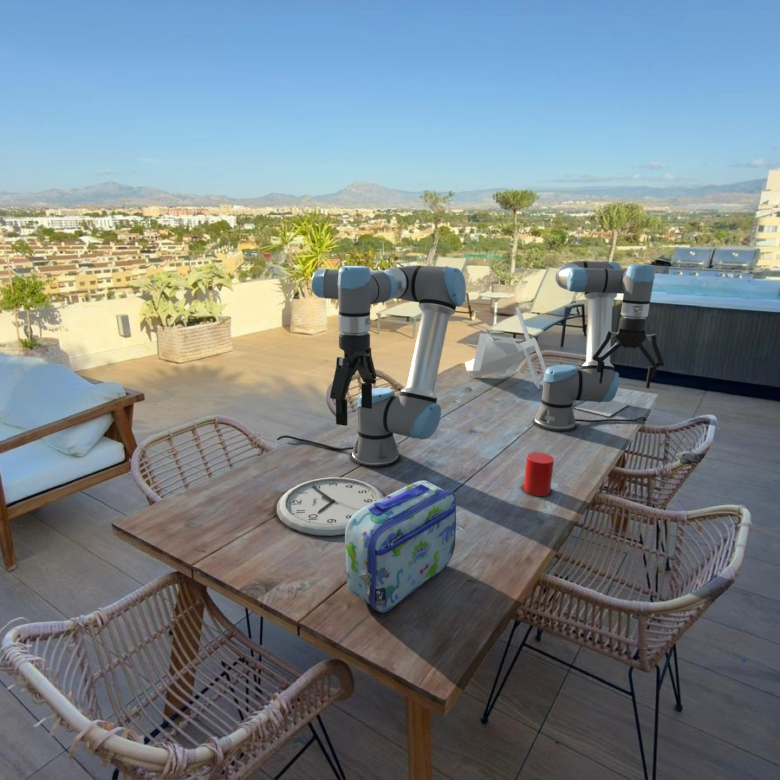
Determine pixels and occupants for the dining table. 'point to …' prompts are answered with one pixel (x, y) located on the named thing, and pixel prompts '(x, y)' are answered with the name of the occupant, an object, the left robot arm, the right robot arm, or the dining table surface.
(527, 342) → the white plastic object
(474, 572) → the dining table surface
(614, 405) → the invitation card
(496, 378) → the dining table surface
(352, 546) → the lunch box
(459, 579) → the dining table surface
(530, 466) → the red cylinder
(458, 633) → the dining table surface
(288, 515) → the wall clock
